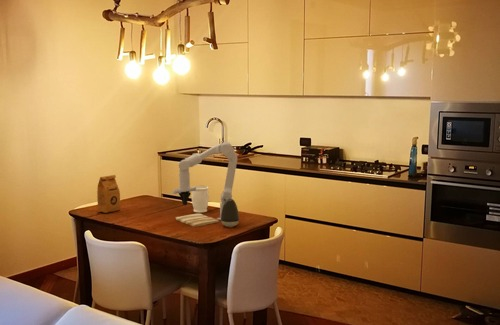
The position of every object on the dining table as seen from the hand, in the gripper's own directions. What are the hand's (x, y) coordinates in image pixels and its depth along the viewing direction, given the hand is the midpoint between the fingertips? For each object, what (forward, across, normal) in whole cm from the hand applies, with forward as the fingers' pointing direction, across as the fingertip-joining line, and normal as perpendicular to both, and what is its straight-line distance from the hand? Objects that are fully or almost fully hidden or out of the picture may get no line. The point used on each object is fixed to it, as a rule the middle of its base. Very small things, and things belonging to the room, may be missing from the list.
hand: (184, 204), depth 295 cm
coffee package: (+9, +24, -46) cm, 52 cm away
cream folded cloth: (+9, -4, +2) cm, 9 cm away
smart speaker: (+9, -11, +27) cm, 30 cm away
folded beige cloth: (+9, -4, +12) cm, 15 cm away
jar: (+9, -19, -12) cm, 24 cm away
